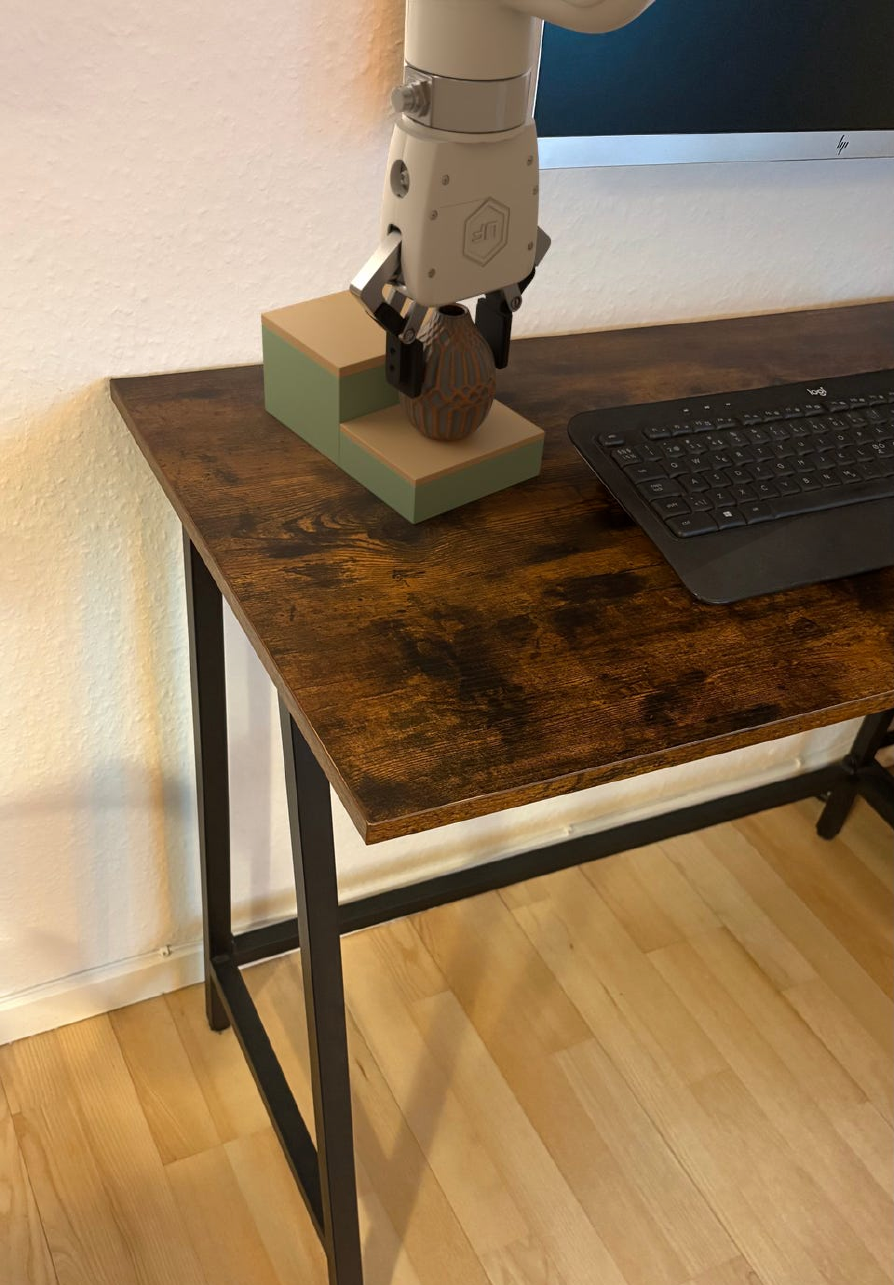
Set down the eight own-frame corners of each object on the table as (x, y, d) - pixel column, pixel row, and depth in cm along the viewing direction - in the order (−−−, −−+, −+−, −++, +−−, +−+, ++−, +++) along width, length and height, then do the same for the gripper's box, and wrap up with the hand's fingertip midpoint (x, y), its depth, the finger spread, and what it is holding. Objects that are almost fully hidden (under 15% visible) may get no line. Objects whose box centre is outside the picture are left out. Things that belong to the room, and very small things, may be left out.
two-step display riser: (539, 475, 92) (552, 377, 87) (413, 524, 87) (418, 424, 81) (387, 371, 102) (390, 278, 96) (264, 410, 96) (260, 313, 91)
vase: (447, 394, 92) (454, 278, 86) (511, 432, 89) (524, 315, 83) (376, 422, 89) (379, 303, 83) (440, 463, 86) (448, 342, 79)
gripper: (387, 139, 67) (379, 432, 80) (612, 93, 76) (573, 366, 88) (309, 99, 71) (314, 385, 84) (532, 59, 80) (505, 325, 92)
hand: (447, 373), depth 86 cm, fingers open, 7 cm apart
